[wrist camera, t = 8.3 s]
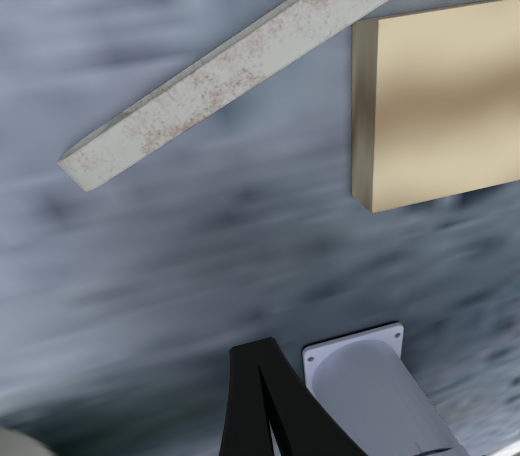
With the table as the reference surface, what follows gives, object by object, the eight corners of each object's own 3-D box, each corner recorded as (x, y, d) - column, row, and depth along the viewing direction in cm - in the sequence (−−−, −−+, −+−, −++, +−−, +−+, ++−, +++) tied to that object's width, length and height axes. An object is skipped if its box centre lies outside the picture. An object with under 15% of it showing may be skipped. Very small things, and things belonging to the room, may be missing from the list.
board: (500, 162, 22) (535, 176, 20) (351, 194, 21) (371, 213, 19) (538, -8, 18) (588, -13, 16) (352, 21, 17) (378, 20, 15)
